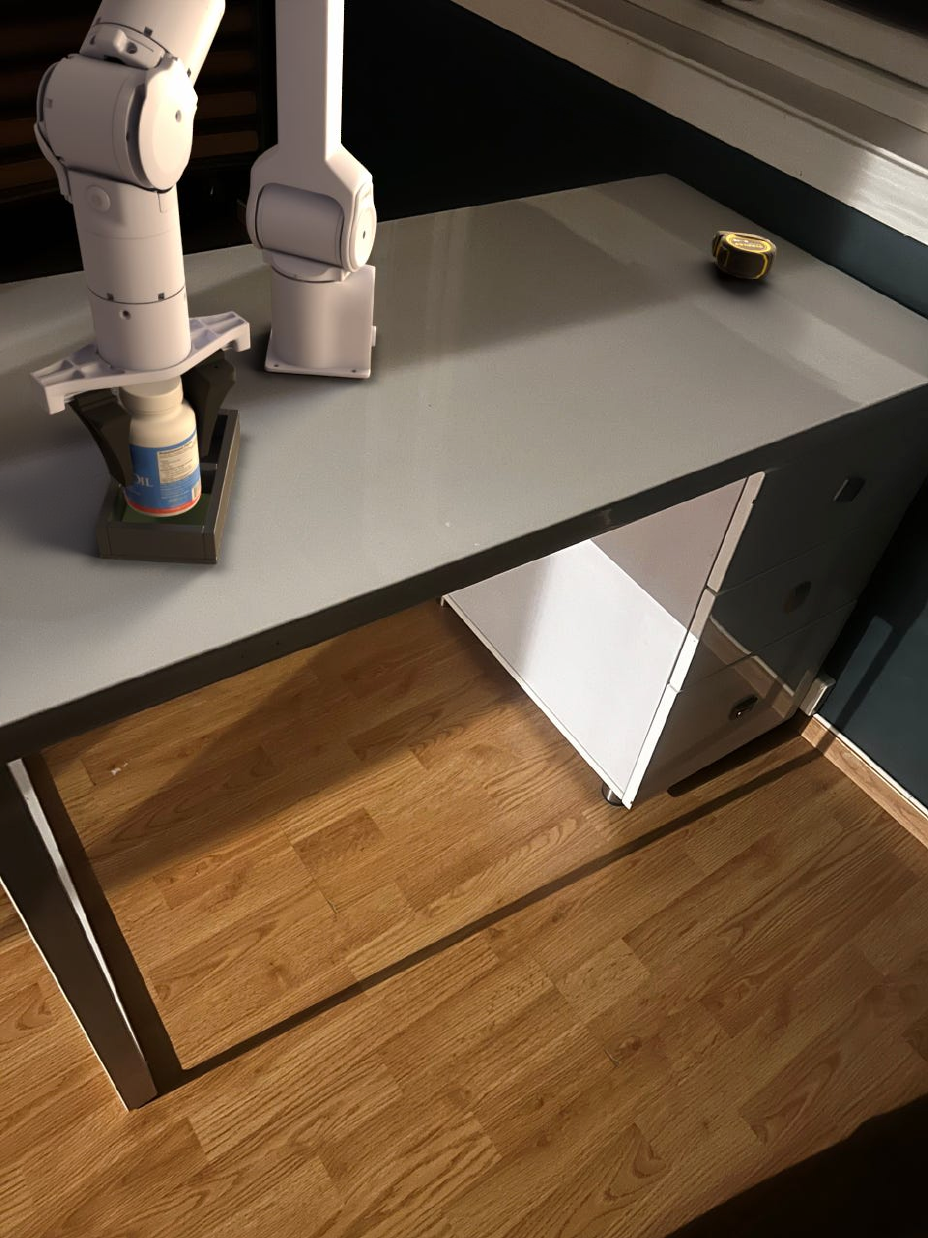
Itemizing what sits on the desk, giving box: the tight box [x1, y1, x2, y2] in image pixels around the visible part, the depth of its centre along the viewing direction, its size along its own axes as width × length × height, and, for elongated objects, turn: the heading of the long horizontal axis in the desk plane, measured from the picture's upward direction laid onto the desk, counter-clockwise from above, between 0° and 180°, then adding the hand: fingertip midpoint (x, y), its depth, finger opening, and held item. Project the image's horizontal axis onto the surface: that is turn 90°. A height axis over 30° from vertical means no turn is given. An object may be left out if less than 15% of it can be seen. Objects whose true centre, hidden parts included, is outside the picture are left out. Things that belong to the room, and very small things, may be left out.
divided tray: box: [94, 408, 242, 565], centre depth 74 cm, size 8×15×3 cm, turn 3°
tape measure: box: [710, 230, 778, 280], centre depth 113 cm, size 7×7×4 cm
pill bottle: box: [118, 375, 201, 517], centre depth 67 cm, size 6×5×10 cm
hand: (160, 463), depth 69 cm, fingers closed on pill bottle, 5 cm apart
